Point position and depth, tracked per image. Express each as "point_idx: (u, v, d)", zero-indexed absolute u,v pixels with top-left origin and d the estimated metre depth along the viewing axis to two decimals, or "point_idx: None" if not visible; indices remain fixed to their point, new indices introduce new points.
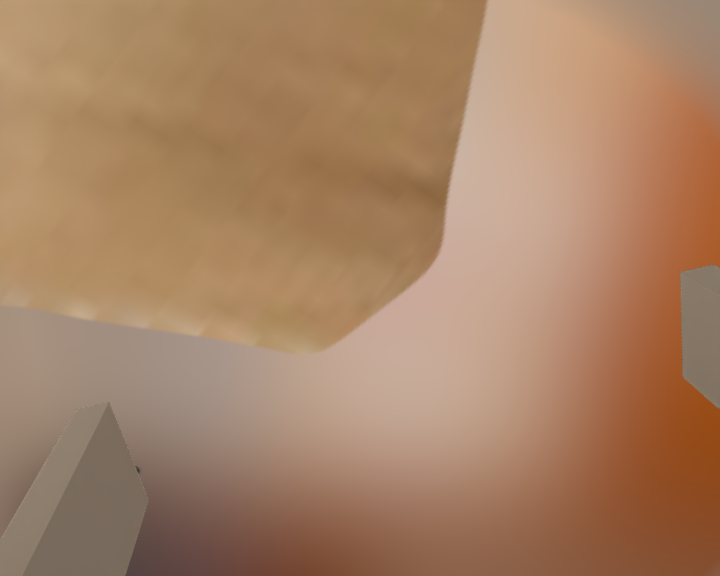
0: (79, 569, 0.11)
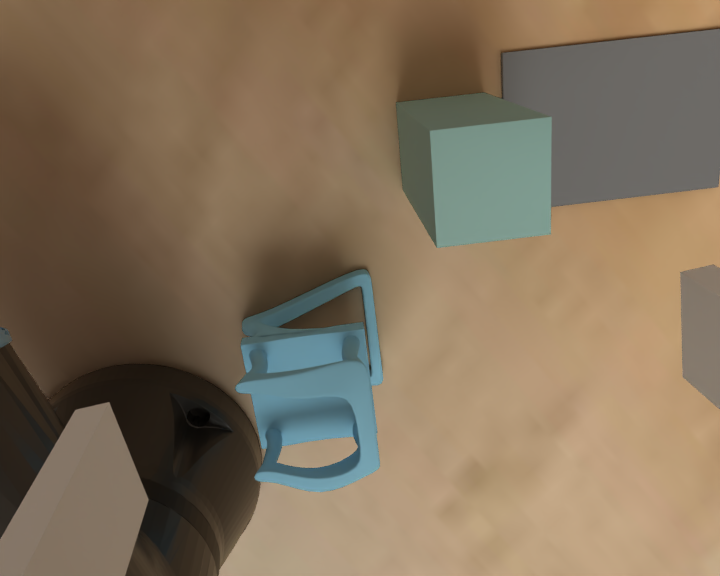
0: (79, 569, 0.11)
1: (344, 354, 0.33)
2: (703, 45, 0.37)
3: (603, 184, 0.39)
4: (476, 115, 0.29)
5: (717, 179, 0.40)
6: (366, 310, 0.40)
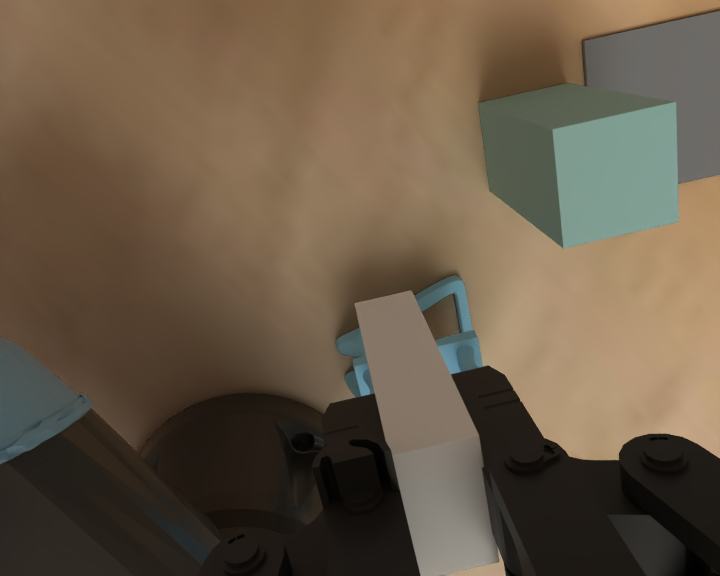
0: None
1: (463, 365, 0.32)
2: None
3: (693, 163, 0.38)
4: (586, 108, 0.28)
5: None
6: (461, 316, 0.39)
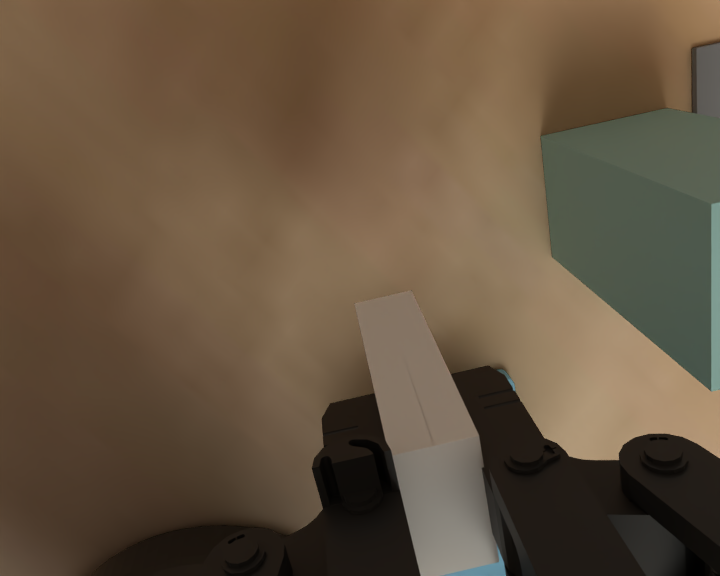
0: None
1: None
2: None
3: None
4: None
5: None
6: None
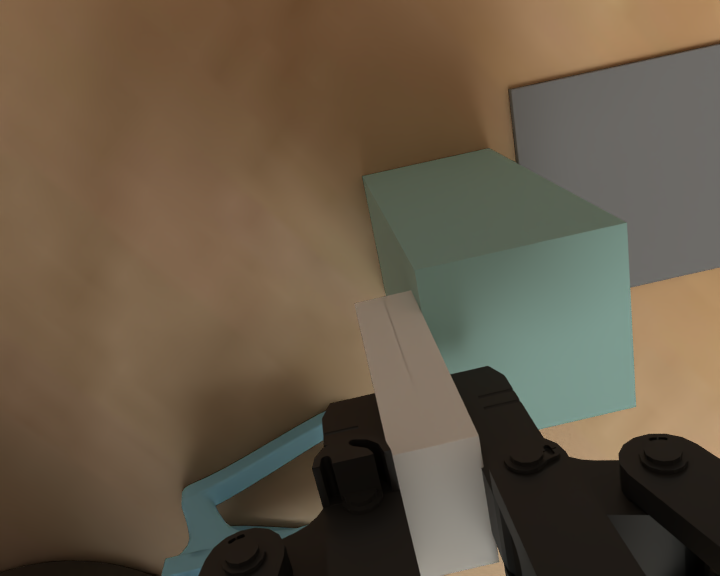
0: None
1: None
2: None
3: (670, 256, 0.27)
4: (489, 215, 0.18)
5: None
6: None
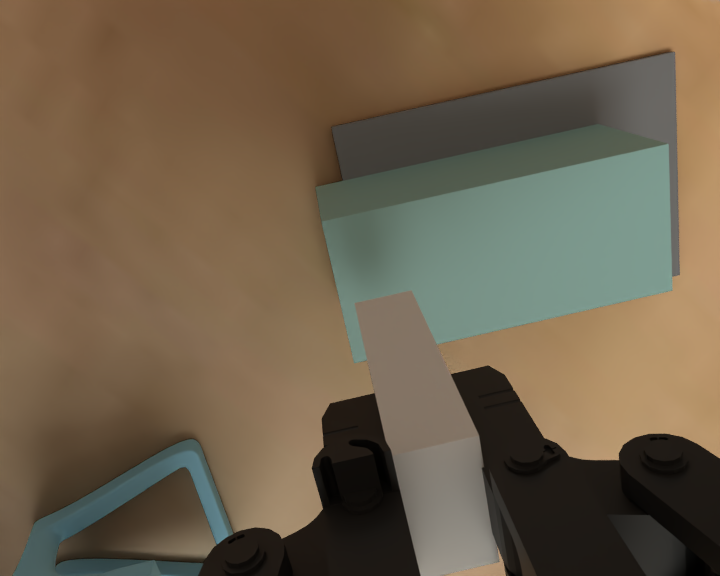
0: None
1: None
2: (632, 82, 0.25)
3: None
4: (551, 150, 0.23)
5: (677, 264, 0.27)
6: (200, 496, 0.28)
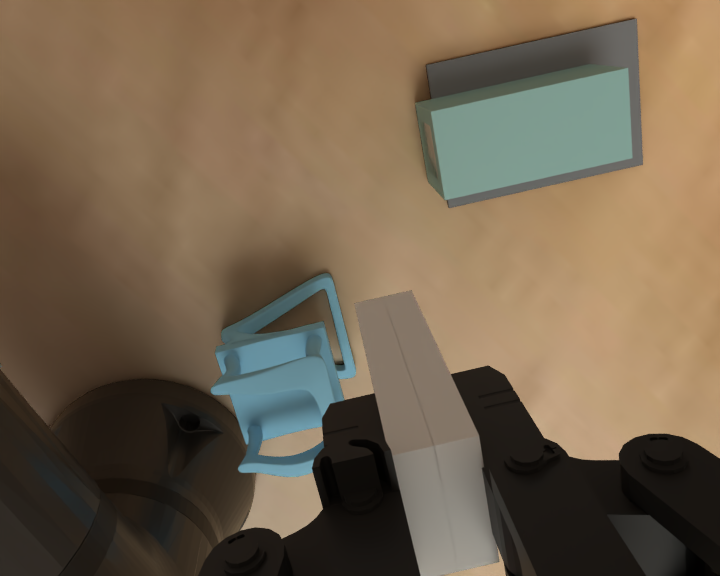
0: None
1: (307, 351, 0.37)
2: (610, 37, 0.40)
3: None
4: (561, 76, 0.38)
5: (641, 157, 0.43)
6: (332, 310, 0.44)
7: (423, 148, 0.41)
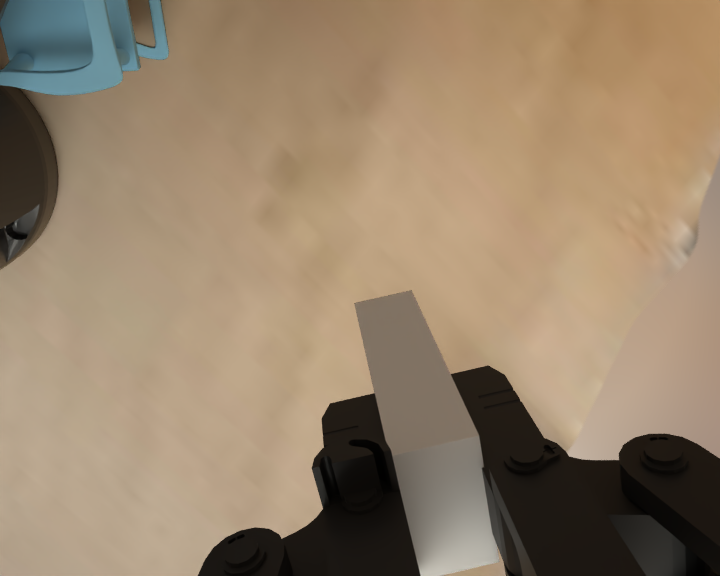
0: None
1: None
2: None
3: None
4: None
5: None
6: None
7: None
